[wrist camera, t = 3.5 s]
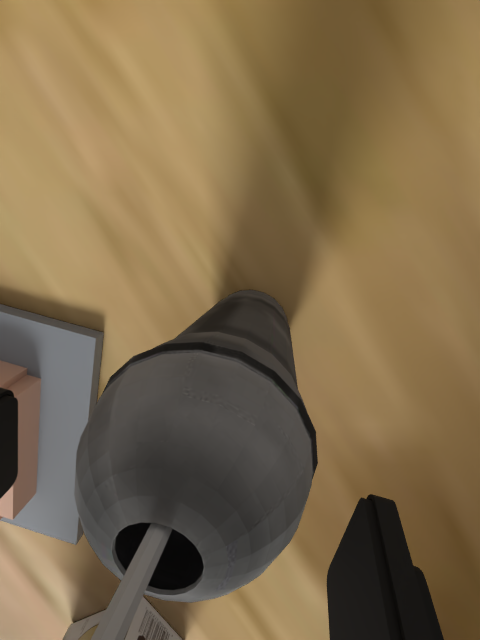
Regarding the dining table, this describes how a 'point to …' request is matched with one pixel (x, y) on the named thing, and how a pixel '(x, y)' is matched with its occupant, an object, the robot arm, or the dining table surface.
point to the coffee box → (143, 634)
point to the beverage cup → (197, 460)
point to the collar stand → (47, 416)
